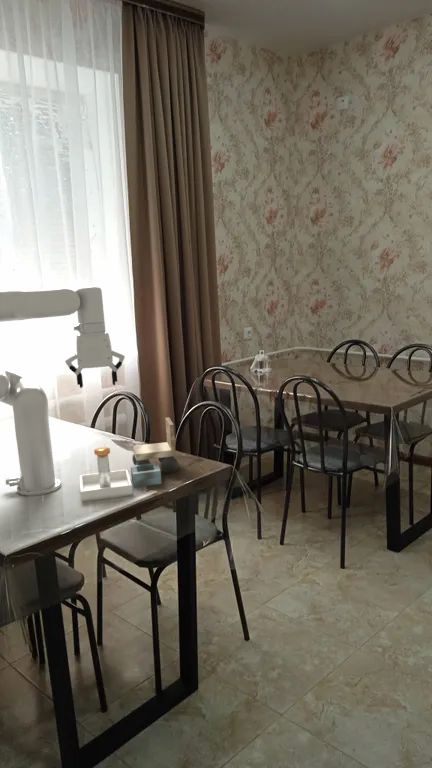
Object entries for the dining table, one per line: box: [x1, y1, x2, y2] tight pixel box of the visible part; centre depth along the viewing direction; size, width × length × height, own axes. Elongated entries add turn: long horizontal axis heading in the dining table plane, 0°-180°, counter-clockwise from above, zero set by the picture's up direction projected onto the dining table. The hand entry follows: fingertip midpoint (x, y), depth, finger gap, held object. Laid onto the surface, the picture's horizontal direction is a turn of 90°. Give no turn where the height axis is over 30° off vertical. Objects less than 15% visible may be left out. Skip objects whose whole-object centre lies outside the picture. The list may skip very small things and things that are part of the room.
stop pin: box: [93, 446, 111, 488], centre depth 180 cm, size 4×4×12 cm
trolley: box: [130, 417, 179, 488], centre depth 191 cm, size 14×19×15 cm
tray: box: [79, 469, 133, 503], centre depth 181 cm, size 14×14×3 cm
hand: (97, 385), depth 188 cm, fingers open, 9 cm apart
